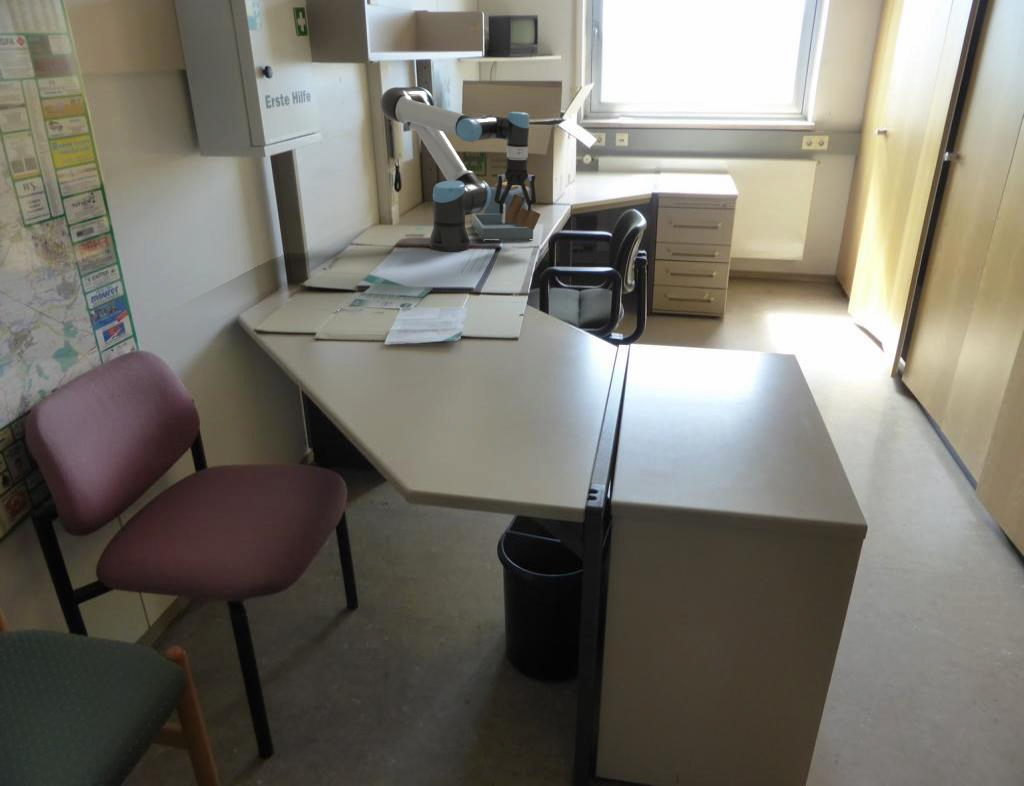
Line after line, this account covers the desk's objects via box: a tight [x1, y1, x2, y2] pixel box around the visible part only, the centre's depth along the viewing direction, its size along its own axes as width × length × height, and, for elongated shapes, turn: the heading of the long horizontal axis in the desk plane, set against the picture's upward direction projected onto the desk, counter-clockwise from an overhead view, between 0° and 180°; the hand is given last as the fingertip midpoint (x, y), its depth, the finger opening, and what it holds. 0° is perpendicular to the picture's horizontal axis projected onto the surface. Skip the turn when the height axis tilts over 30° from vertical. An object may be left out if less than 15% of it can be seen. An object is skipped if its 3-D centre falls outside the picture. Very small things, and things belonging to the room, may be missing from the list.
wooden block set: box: [505, 194, 541, 231], centre depth 269 cm, size 18×9×10 cm, turn 26°
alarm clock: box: [483, 181, 533, 214], centre depth 320 cm, size 16×16×16 cm
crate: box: [471, 213, 534, 242], centre depth 297 cm, size 20×28×5 cm
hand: (514, 222), depth 270 cm, fingers closed on wooden block set, 8 cm apart
